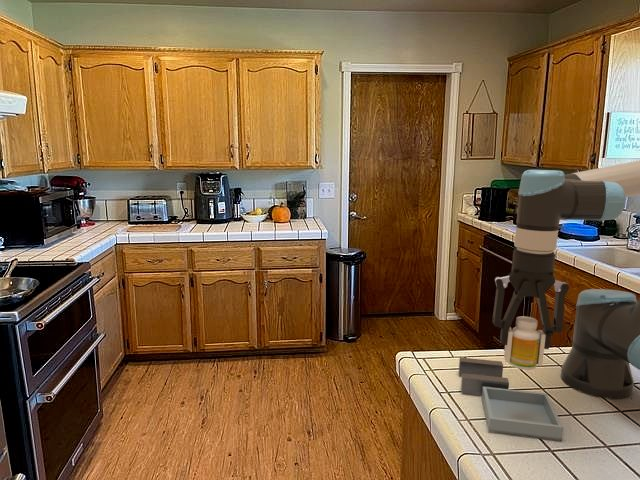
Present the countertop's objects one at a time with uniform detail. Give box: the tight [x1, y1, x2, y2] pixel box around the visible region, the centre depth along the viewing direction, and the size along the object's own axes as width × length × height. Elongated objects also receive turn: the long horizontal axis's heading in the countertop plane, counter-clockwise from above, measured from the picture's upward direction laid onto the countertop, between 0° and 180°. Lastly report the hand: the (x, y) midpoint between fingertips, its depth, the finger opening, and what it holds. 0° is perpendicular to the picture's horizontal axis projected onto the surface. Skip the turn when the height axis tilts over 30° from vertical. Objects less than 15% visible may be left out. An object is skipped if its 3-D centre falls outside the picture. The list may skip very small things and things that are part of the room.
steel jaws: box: [458, 356, 510, 397], centre depth 114 cm, size 10×11×4 cm
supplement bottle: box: [508, 315, 540, 371], centre depth 97 cm, size 5×5×10 cm
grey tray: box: [481, 387, 564, 443], centre depth 100 cm, size 13×13×3 cm
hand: (522, 361), depth 98 cm, fingers closed on supplement bottle, 5 cm apart
